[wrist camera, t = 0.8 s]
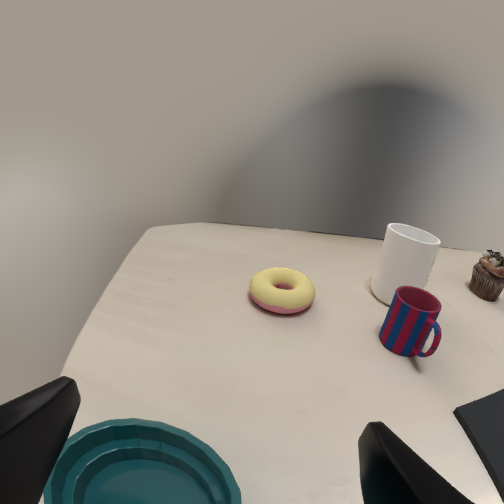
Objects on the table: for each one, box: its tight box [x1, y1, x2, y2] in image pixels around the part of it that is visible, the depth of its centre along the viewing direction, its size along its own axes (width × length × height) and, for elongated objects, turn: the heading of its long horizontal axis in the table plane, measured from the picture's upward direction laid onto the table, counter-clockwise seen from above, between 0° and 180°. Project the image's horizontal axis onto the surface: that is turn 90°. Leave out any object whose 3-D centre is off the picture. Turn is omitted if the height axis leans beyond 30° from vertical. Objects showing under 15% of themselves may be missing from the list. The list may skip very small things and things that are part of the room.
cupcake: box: [470, 250, 504, 301], centre depth 50 cm, size 10×10×10 cm
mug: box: [371, 223, 440, 306], centre depth 46 cm, size 10×12×12 cm
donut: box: [250, 267, 315, 314], centre depth 43 cm, size 10×5×9 cm
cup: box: [379, 286, 441, 357], centre depth 33 cm, size 7×10×7 cm
